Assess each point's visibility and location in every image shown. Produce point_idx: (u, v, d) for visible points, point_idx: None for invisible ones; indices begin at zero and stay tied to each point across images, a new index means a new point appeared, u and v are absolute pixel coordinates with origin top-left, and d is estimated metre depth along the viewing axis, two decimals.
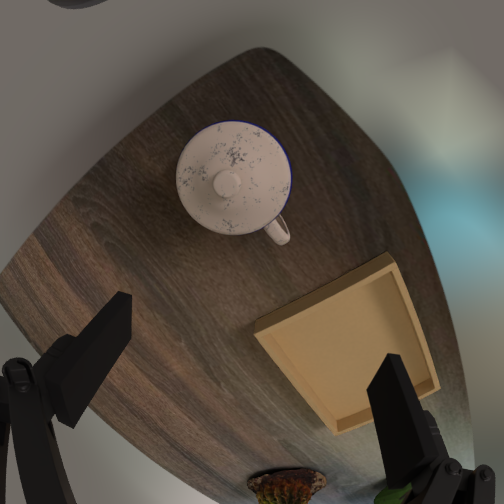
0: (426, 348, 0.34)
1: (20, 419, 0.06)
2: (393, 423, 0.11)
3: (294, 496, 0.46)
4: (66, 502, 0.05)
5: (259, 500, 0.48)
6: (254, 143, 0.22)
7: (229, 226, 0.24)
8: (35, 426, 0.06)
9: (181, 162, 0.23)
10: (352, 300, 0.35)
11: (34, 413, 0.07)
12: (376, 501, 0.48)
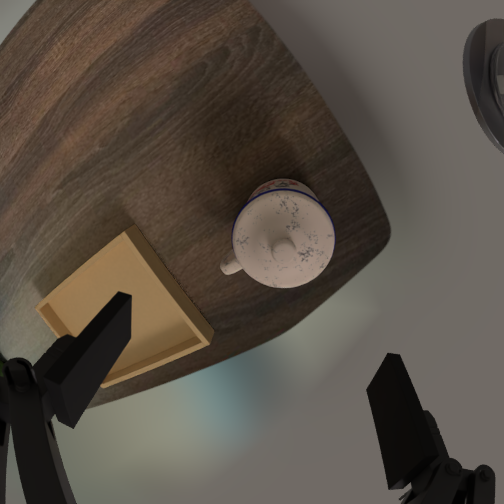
0: (137, 373, 0.42)
1: (20, 419, 0.06)
2: (393, 423, 0.11)
3: None
4: (66, 502, 0.05)
5: None
6: (314, 265, 0.27)
7: (241, 241, 0.27)
8: (35, 426, 0.06)
9: (302, 200, 0.25)
10: (167, 308, 0.40)
11: (34, 413, 0.07)
12: None
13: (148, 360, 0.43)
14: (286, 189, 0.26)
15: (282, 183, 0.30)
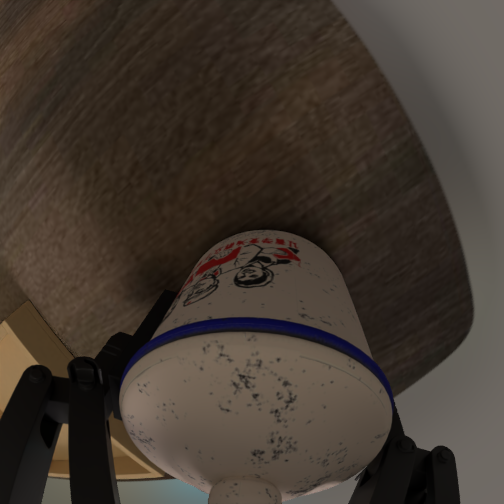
0: None
1: (79, 417, 0.07)
2: None
3: None
4: None
5: None
6: (330, 482, 0.08)
7: (140, 438, 0.08)
8: (94, 426, 0.07)
9: (311, 368, 0.07)
10: None
11: (95, 413, 0.08)
12: None
13: None
14: (256, 324, 0.07)
15: (257, 258, 0.12)
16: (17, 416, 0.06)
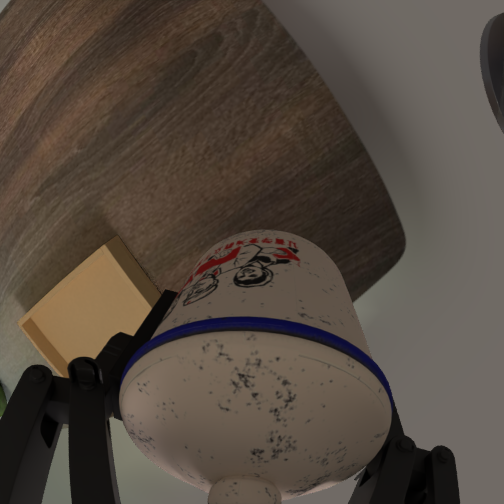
0: None
1: (79, 417, 0.08)
2: None
3: None
4: None
5: None
6: (329, 482, 0.08)
7: (140, 437, 0.08)
8: (95, 426, 0.07)
9: (310, 367, 0.07)
10: None
11: (96, 413, 0.08)
12: None
13: None
14: (256, 323, 0.07)
15: (256, 258, 0.12)
16: (17, 416, 0.06)
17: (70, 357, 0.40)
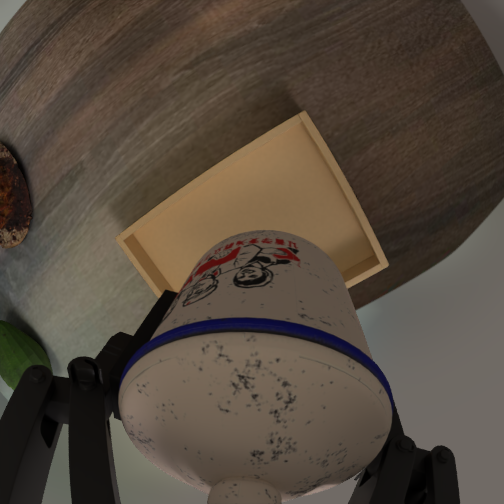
0: None
1: (79, 417, 0.07)
2: None
3: None
4: None
5: None
6: (329, 483, 0.08)
7: (140, 438, 0.08)
8: (95, 426, 0.07)
9: (311, 369, 0.07)
10: (332, 224, 0.32)
11: (95, 413, 0.08)
12: None
13: None
14: (256, 324, 0.07)
15: (256, 259, 0.12)
16: (17, 416, 0.06)
17: None
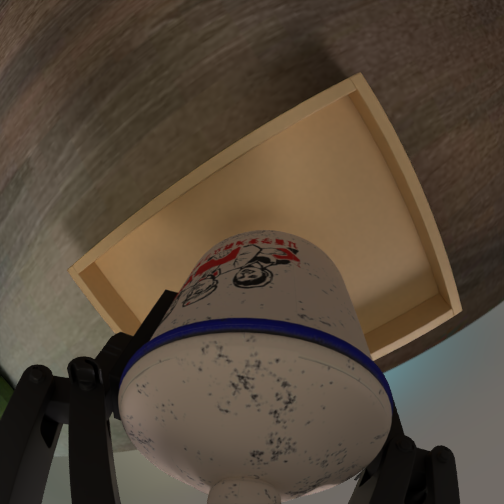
0: None
1: (79, 417, 0.08)
2: None
3: None
4: (115, 503, 0.05)
5: None
6: (329, 483, 0.08)
7: (139, 438, 0.08)
8: (95, 426, 0.07)
9: (310, 369, 0.07)
10: (389, 251, 0.20)
11: (96, 413, 0.08)
12: None
13: None
14: (255, 325, 0.07)
15: (256, 259, 0.12)
16: (17, 416, 0.06)
17: None
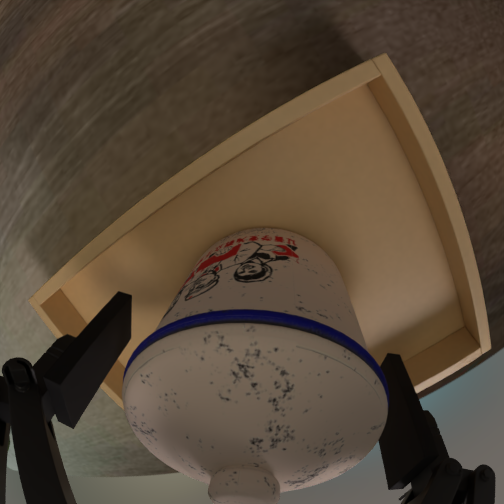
0: None
1: (20, 419, 0.06)
2: (393, 423, 0.11)
3: None
4: (66, 502, 0.05)
5: None
6: (327, 474, 0.09)
7: (142, 429, 0.09)
8: (35, 426, 0.06)
9: (307, 358, 0.07)
10: (412, 282, 0.16)
11: (34, 413, 0.07)
12: None
13: None
14: (255, 316, 0.08)
15: (256, 255, 0.12)
16: None
17: None
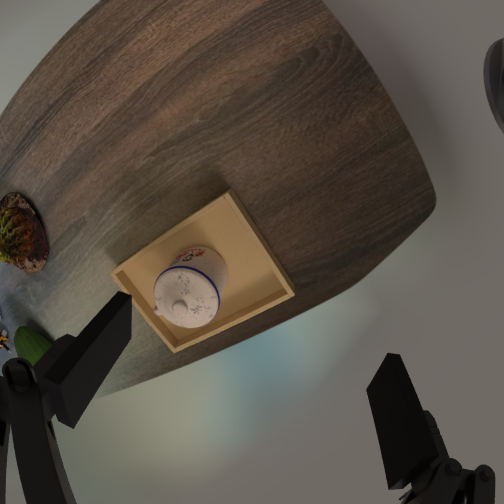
0: (217, 331, 0.49)
1: (20, 419, 0.06)
2: (393, 423, 0.11)
3: (18, 249, 0.45)
4: (66, 502, 0.05)
5: (1, 213, 0.43)
6: (205, 315, 0.40)
7: (158, 298, 0.40)
8: (35, 426, 0.06)
9: (191, 275, 0.38)
10: (254, 265, 0.47)
11: (34, 413, 0.07)
12: (21, 329, 0.53)
13: (228, 318, 0.50)
14: (183, 266, 0.39)
15: (190, 254, 0.43)
16: None
17: None
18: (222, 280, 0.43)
